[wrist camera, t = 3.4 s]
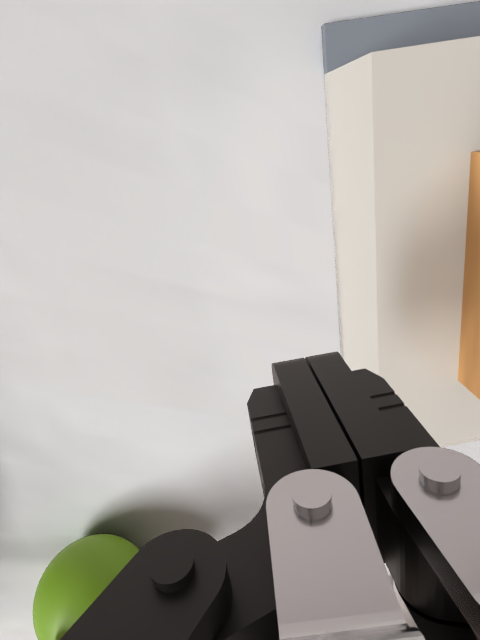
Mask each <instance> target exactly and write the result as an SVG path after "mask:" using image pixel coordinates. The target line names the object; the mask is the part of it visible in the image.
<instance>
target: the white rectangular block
mask: <svg viewBox="0 0 480 640" xmlns="http://www.w3.org/2000/svg"><path fill="white" fill-rule="evenodd" d="M324 79H325V95H326V112H327V129H328V145H329V162H330V179H331V196H332V212H333V229H334V246H335V262H336V279H337V296H338V313H339V329H340V346H341V357H342V358H343V359H344V361H345V362H346V364H347V365H348V367H349V368H350V369H351V371H354V370H359V369H364V368H365V369H367V370H369V371H371V372H373V373H375V374H377V375H379V376H381V377H382V378H384V379H385V380H386V382H387V383H388V384H389V385H390V387H391V388H392V389H393V390H394V391H395V395H396V394H397V395H398V396H399V397H400V399H401V400H402V401H403V402H404V405H405V406H407V407H408V408H409V410H410V411H411V412H412V413H413V415H414V416H415V417H416V418H417V419H418V421H419V422H420V423H421V424H422V425H423V427H424V428H425V429H426V430H427V432H428V433H429V434H430V435H431V436H432V438H433V439H434V440H435V441H436V443H437V444H438V445H439V446H440V447H446V446H451V445H456V444H461V443H466V442H471V441H477V440H480V400H479V399H478V398H477V397H476V396H475V395H474V394H473V393H472V392H470V391H469V390H468V389H467V388H466V387H465V386H464V385H463V384H461V383H460V382H459V381H458V366H459V349H460V332H461V315H462V297H463V280H464V263H465V246H466V229H467V212H468V195H469V177H470V160H471V152H474V151H480V36H476V37H469V38H463V39H456V40H449V41H442V42H436V43H429V44H422V45H416V46H409V47H402V48H395V49H389V50H382V51H375V52H371V53H369V54H366V55H364V56H362V57H360V58H358V59H356V60H354V61H352V62H350V63H347V64H345V65H343V66H341V67H339V68H337V69H335V70H333V71H330V72H328V73H326V74H324ZM343 354H344V356H343Z"/></svg>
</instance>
